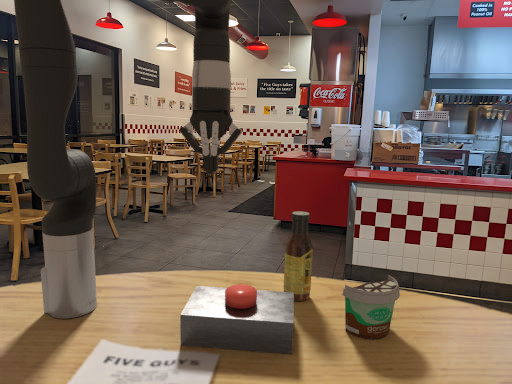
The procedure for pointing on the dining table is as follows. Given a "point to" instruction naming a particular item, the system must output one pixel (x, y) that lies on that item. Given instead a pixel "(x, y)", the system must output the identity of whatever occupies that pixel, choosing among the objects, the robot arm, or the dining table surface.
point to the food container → (370, 308)
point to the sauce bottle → (298, 258)
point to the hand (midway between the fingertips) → (210, 173)
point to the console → (238, 322)
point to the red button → (240, 296)
